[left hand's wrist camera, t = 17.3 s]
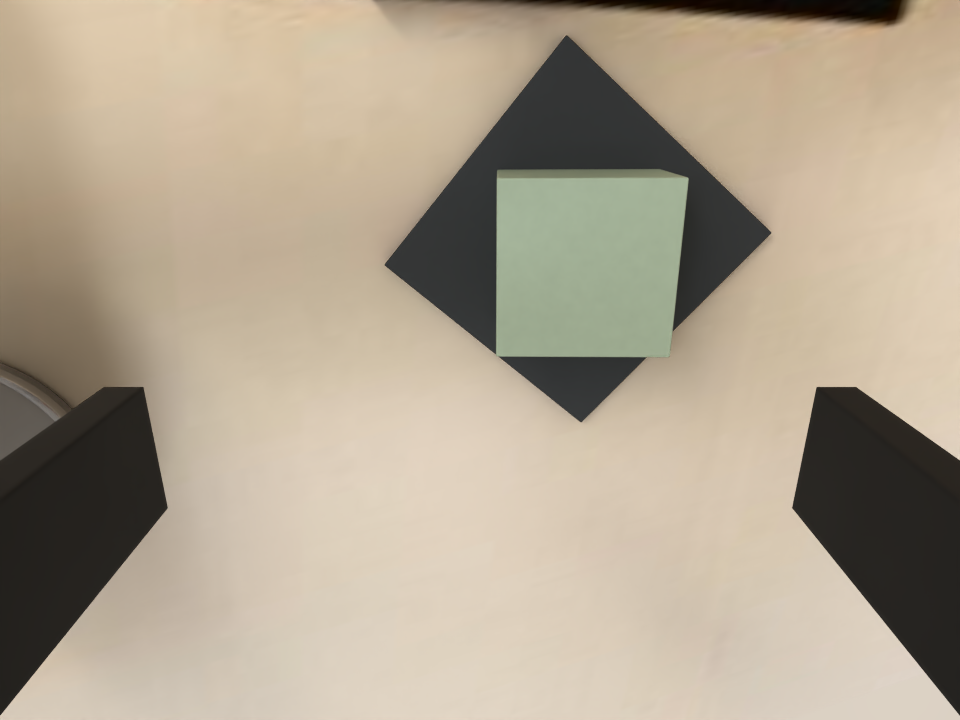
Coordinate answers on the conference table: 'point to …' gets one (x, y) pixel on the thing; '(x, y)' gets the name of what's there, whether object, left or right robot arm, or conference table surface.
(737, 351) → the conference table surface
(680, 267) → the mat
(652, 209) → the pale green block
